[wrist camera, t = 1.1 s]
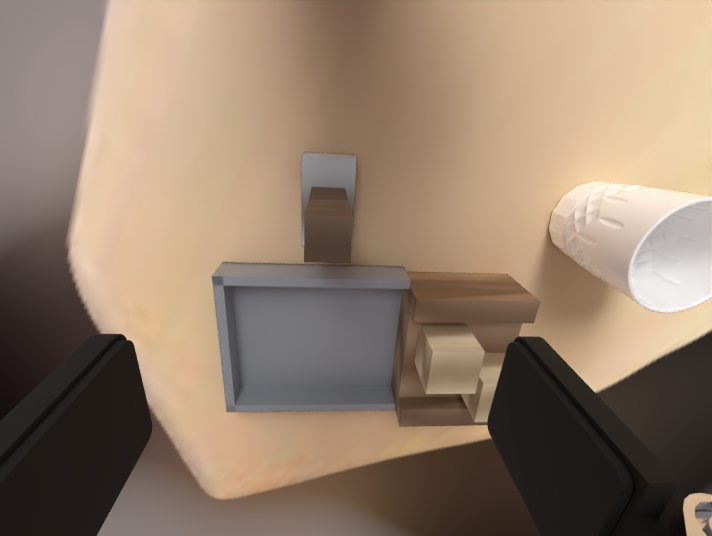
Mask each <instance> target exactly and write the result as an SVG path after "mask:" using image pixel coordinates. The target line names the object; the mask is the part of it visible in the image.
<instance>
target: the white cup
mask: <svg viewBox="0 0 712 536" xmlns="http://www.w3.org/2000/svg"><path fill="white" fill-rule="evenodd" d="M549 231H550V235H551V239H552V243H553V244H554V245H555V246H557V247H558V248H559V249H560V250H561V251H562V252H563V253H564V254H566V255H568V256H569V257H571V258H572V259H573V260H574V261H575V262H577V263H578V264H579V265H581V266H582V267H584V268H585V269H587V270H588V271H589V272H591V273H592V274H593V275H595V276H596V277H598V278H600V279H601V280H603V281H604V282H606V283H607V284H609V285H610V286H612V287H613V288H615V289H616V290H618V291H619V292H621V293H622V294H624V295H625V296H627V297H628V298H630V299H631V300H633V301H634V302H636V303H637V304H639V305H640V306H642V307H644V308H645V309H648V310H650V311H653V312H658V313H673V312H679V311H684V310H687V309H690V308H692V307H695V306H697V305H699V304H701V303H703V302H705V301H707V300H708V299H710V298H711V297H712V196H705V195H699V194H692V193H685V192H679V191H672V190H666V189H659V188H653V187H644V186H636V185H618V184H611V183H605V182H600V181H594V182H590V183H586V184H582V185H578V186H577V187H575V188H574V189H573V190H571V191H570V192H568V193H567V194H565V195H564V196H563V197H562V198H561V200H560V201H559V203H558V204H557V206H556V207H555V209H554V210H553V212H552V215H551V220H550V225H549Z"/></svg>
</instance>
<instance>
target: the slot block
mask: <svg viewBox="0 0 712 536" xmlns="http://www.w3.org/2000/svg"><path fill="white" fill-rule="evenodd" d="M407 274H408V276H409V278H410V280H411V281H410V289H402V295H401V304H400V312H399V321H398V330H397V338H396V347H395V355H394V364H393V372H392V381H391V389H392V393H393V397H394V401H395V409H396V413H397V418H398V422H399V426H400V427H401V426H461V425H488V424H487V422H474V420H473V418H472V416H471V414H470V412H469V410H468V408H467V406H466V404H465V402H464V400H463V398H462V396H461V394H426V393H425V390H424V387H423V384H422V382H421V379H420V376H419V373H418V371H417V368H416V365H415V355H416V348H417V341H418V334H419V327H420V323H458V324H466V325H467V326H468V327H469V329H470V330H471V332H472V333H473V335H474V336H475V338H476V339H477V341H478V342H479V344H480V345H481V347H482V348H483V350H484V351H485V353H506V350H507V346H508V344H509V343H511V342H513V341H514V340H515V338H516V337H518V336H519V332H520V328H521V324H522V323H534V320H535V317H536V313H537V310H538V306H539V303H540V301H539V300H537V299H536V298H535V297H534V296H533V295H532V294H530V293H529V292H528V291H527V290H526V289H525V288H523V287H522V286H521V285H520V284H519V283H517V282H516V281H515V280H514V279H513V278H512V277H510V276H509V275H508V274H483V273H439V272H407Z"/></svg>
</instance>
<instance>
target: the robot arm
mask: <svg viewBox="0 0 712 536" xmlns="http://www.w3.org/2000/svg"><path fill="white" fill-rule="evenodd" d="M487 424H488V430H489V433H490V435H491V437H492V439H493V441H494V443H495V445H496V447H497V449H498V451H499V453H500V455H501V457H502V459H503V461H504V463H505V465H506V467H507V469H508V471H509V473H510V475H511V476H512V478H513V480H514V483H515V484H516V486H517V488H518V490H519V492H520V494H521V496H522V498H523V500H524V502H525V504H526V506H527V508H528V510H529V512H530V514H531V516H532V518H533V520H534V522H535V524H536V526H537V528H538V530H539V532H540V534H541V536H712V495H709V494H703V493H697V494H691V495H689V496H688V497H687V498H686V499H684V498H683V497H682V496H681V495H680V493H679V492H678V491H677V490H676V489H677V488H678V486H679V484H680V482H679V481H678V480H677V479H676V478H675V476H674V475H673V474H672V473H671V472H670V471H669V470H668V469H667V468H666V467H665V466H664V465H663V464H662V463H661V462H660V461H659V459H658V458H657V457H656V456H655V455H654V454H653V453H652V452H651V451H650V450H649V449H648V448H647V447H646V446H645V445H644V444H643V443H642V442H641V441H640V440H639V439H638V437H637V436H636V435H635V434H634V433H633V432H632V431H631V430H630V429H629V428H628V427H627V426H626V425H625V424H624V423H623V422H622V421H621V420H620V419H619V418H618V417H617V415H616V414H615V413H614V412H613V411H612V410H611V409H610V408H609V407H608V406H607V405H606V404H605V403H604V402H603V401H602V400H601V399H600V398H599V397H598V396H597V394H596V393H595V392H594V391H593V390H592V389H591V388H590V387H589V386H588V385H587V384H586V383H585V382H584V381H583V380H582V379H581V378H580V377H579V376H578V375H577V373H576V372H575V371H574V370H573V369H572V368H571V367H570V366H569V365H568V364H567V363H566V362H565V361H564V360H563V359H562V358H561V357H560V356H559V355H558V354H557V353H556V351H555V350H554V349H553V348H552V347H551V346H550V345H549V344H548V343H547V342H546V341H545V340H544V339H543V338H541V337H516V338H515V340H514V341H513V342H511V343H509V344H508V346H507V350H506V353H505V357H504V361H503V364H502V368H501V372H500V375H499V379H498V383H497V386H496V390H495V394H494V397H493V401H492V404H491V408H490V412H489V415H488V420H487ZM151 432H152V421H151V417H150V413H149V408H148V404H147V400H146V395H145V391H144V387H143V382H142V378H141V374H140V369H139V365H138V361H137V356H136V352H135V348H134V344H133V342H132V341H130V340H127V339H126V337H125V336H124V335H122V334H94V335H92V336H91V337H89V338H88V339H87V340H86V341H85V342H84V343H83V344H82V345H81V346H80V347H79V348H78V349H77V350H76V351H74V352H73V353H72V354H71V355H70V356H69V357H68V358H67V359H66V360H65V361H64V362H63V363H62V364H61V365H59V366H58V367H57V368H56V369H55V370H54V371H53V372H52V373H51V374H50V375H49V376H48V377H47V378H46V379H45V380H44V381H43V382H41V384H39V385H38V386H37V387H36V388H35V389H34V390H33V391H32V392H31V393H30V394H29V395H28V396H27V397H26V398H25V399H24V400H22V401H21V402H20V403H19V404H18V405H17V406H16V407H15V408H14V409H13V410H12V411H11V412H9V413H8V414H7V415H6V416H5V417H4V418H3V419H2V420H1V421H0V536H97V534H98V532H99V530H100V528H101V527H102V525H103V523H104V521H105V519H106V517H107V516H108V514H109V512H110V510H111V508H112V506H113V505H114V503H115V501H116V499H117V497H118V496H119V494H120V492H121V490H122V488H123V486H124V485H125V483H126V481H127V479H128V477H129V475H130V474H131V472H132V470H133V468H134V466H135V465H136V463H137V461H138V459H139V457H140V455H141V454H142V452H143V450H144V448H145V446H146V444H147V443H148V441H149V438H150V436H151Z"/></svg>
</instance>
